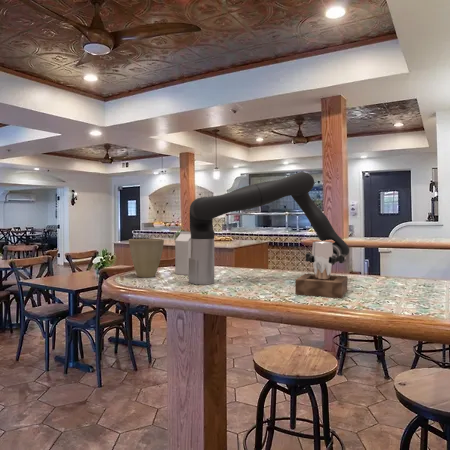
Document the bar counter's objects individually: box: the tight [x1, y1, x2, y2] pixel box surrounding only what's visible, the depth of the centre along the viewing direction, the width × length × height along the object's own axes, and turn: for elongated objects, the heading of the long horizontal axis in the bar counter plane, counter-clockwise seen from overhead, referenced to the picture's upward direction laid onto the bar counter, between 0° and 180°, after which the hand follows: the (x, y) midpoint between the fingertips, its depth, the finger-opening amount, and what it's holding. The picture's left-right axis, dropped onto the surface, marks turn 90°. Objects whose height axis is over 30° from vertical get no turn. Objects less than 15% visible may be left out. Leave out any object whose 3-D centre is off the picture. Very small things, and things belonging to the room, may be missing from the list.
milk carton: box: [174, 231, 191, 276], centre depth 176 cm, size 7×7×19 cm
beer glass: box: [311, 240, 333, 281], centre depth 135 cm, size 7×7×15 cm
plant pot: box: [128, 238, 165, 279], centre depth 168 cm, size 15×15×16 cm
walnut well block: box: [294, 273, 348, 299], centre depth 135 cm, size 15×15×5 cm
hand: (321, 260), depth 133 cm, fingers closed on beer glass, 6 cm apart
